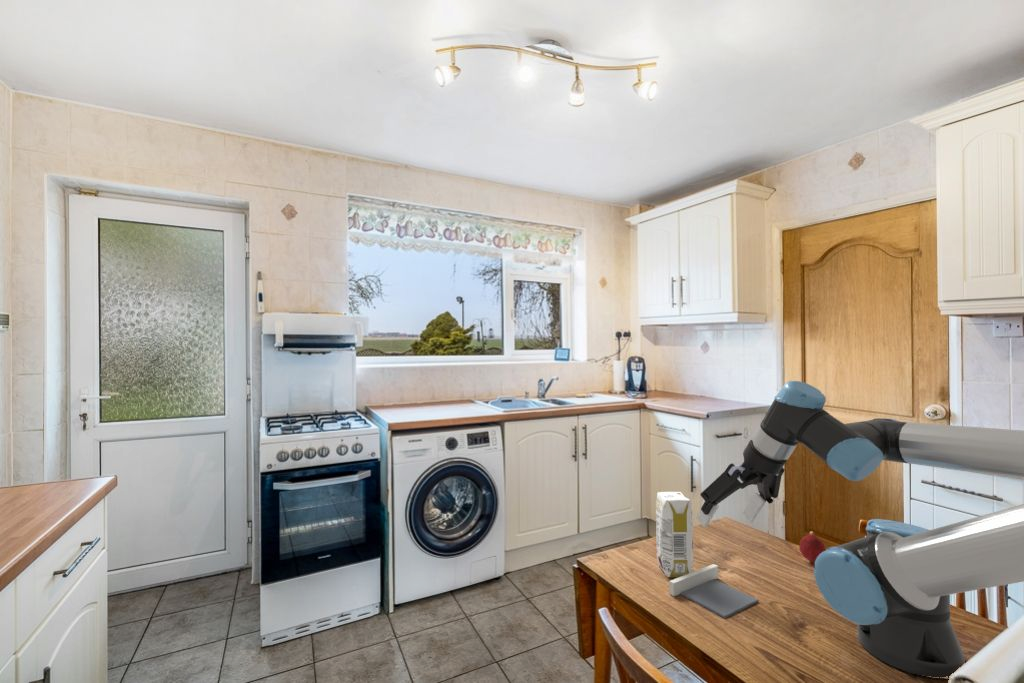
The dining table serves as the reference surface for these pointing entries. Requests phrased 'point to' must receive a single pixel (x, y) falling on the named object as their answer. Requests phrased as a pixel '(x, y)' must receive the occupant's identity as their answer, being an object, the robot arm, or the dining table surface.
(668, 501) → the juice carton
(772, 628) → the dining table surface
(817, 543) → the onion
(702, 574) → the fence
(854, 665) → the dining table surface
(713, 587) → the mat
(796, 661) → the dining table surface
